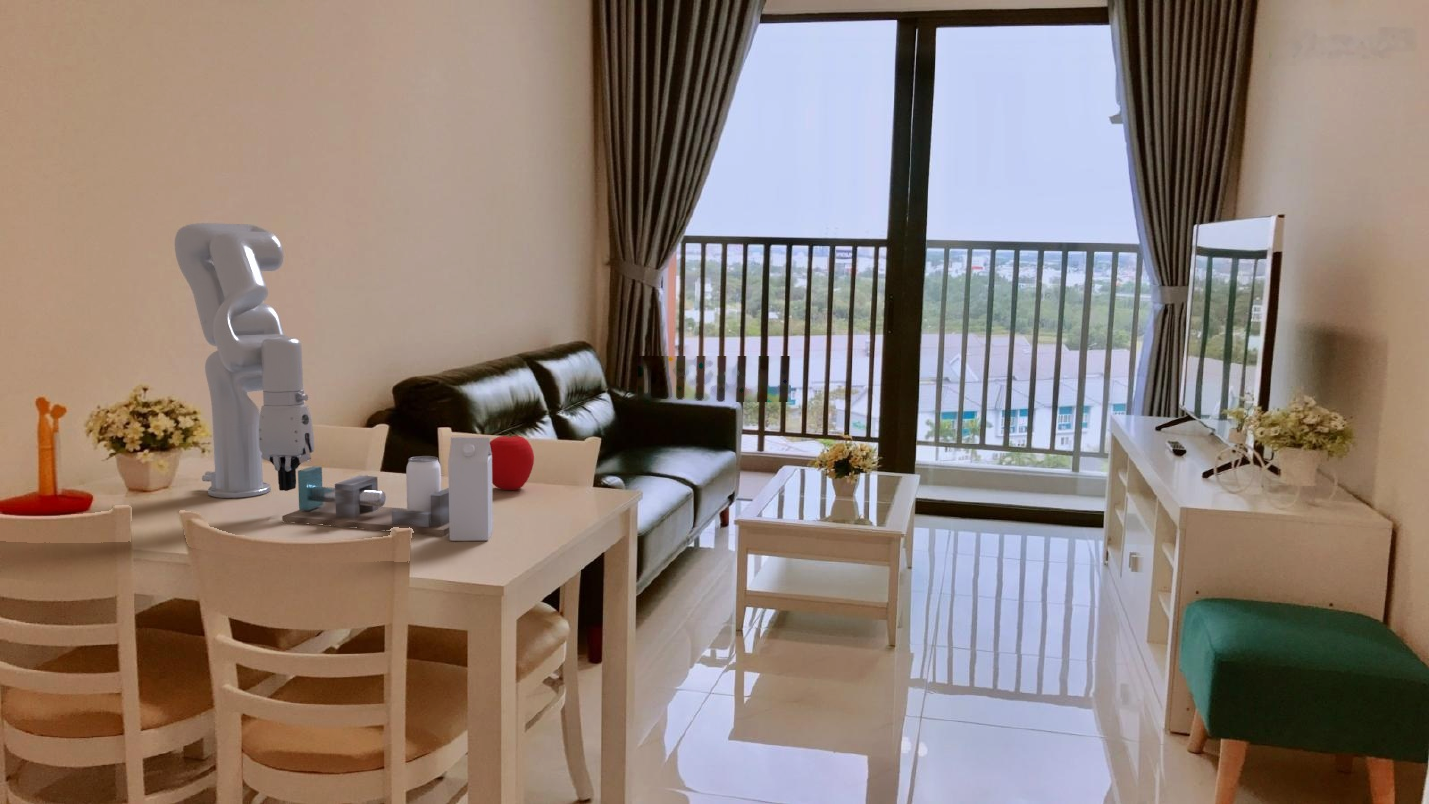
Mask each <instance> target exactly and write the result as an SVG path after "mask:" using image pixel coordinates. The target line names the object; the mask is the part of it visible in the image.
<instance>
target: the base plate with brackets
mask: <svg viewBox="0 0 1429 804" xmlns="http://www.w3.org/2000/svg"><path fill="white" fill-rule="evenodd" d="M378 485H379V484H378V476H372V475H357V476H354V477H351V478H348V479H346V480H342V481H339V482H337V483H334V488H335V503H330V502H323V505H322V506H319V507H316V508H314V509H311V510H308V511H307V510H299V509H298V510H294V511H292V512H290V513H287V514H284V515H282V516H281V517H282V518H281V519H282V521H284V522H283V523H289V522H295V523H294V524H300V523H309V524H308V525H312V524H323V525H331V526H330V527H334V526H341V527H340V528H345V527H357V528H364V529H363V530H368V529H370V531H371V530H372V531H379V530H385V531H384V532H387V531H386V530H390V529H391V528H393V527H399V528H409V527H410V528H412V529H413V531H414V534H415V535H425V536H426V535H427V536H435V535H437V537H445V536H447V535H450V531H449V487H447V488H445V489H441V491H440V492H437V493H435V494H432V495H431V512H419V511H407V508H403V507H401V508H400V507H389V506H382V507H379V506H367V505H359V490H370V491H379V490H378V489H379V488H378ZM323 525H322V526H323ZM357 528H356V529H357Z"/></svg>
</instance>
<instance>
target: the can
mask: <svg viewBox="0 0 1429 804" xmlns="http://www.w3.org/2000/svg"><path fill="white" fill-rule="evenodd" d="M441 468H442V467H441V464H440V463H439V458H438V457H436V456H434V455H433V456H431V455H422V456H419V455H418V456H412V457H410V458H408V462H407V464H406V470H405V471H406V475H405V476H406V504H407V505H406V509H407V511H419V512H431V495H432V494H435V493H437V492H440V491H442V475H441V472H442V471H441V470H442V469H441Z"/></svg>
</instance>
